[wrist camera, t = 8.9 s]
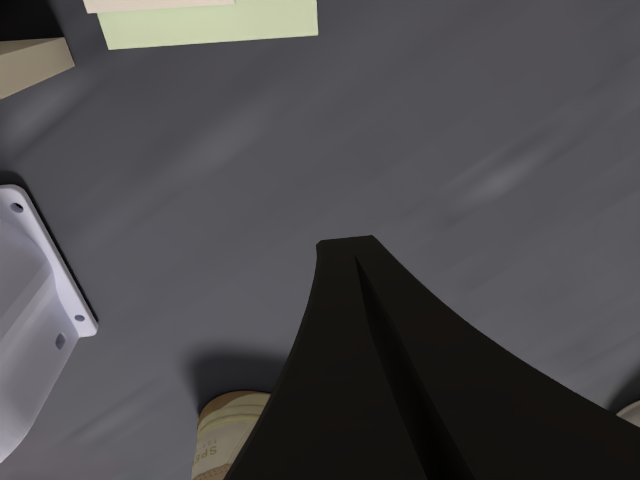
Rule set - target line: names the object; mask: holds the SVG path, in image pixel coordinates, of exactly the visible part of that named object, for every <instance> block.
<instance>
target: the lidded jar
mask: <svg viewBox="0 0 640 480" xmlns="http://www.w3.org/2000/svg"><path fill="white" fill-rule="evenodd" d="M616 415H617V416H619V417H621V418H623V419H625V420H627V421H629V422H630V423H632V424H634V425H636V426H638V427H640V400H639V401H636V402H634V403H632V404H630V405H628V406H626V407H625V408H623V409H622V410H620V411H619V412H618V413H617V414H616Z"/></svg>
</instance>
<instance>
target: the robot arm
mask: <svg viewBox="0 0 640 480" xmlns="http://www.w3.org/2000/svg"><path fill="white" fill-rule="evenodd" d="M15 203H18V204H20V205H21V206H22V207H23V209H22V208H19V207H17V206H16V204H15ZM316 251H317V262H316V269H315V275H314V280H313V284H312V288H311V292H310V296H309V300H308V304H307V307H306V310H305V313H304V316H303V319H302V322H301V325H300V328H299V331H298V334H297V336H296V339H295V342H294V344H293V347H292V349H291V352H290V354H289V356H288V359H287V361H286V363H285V365H284V368H283V370H282V372H281V375H280V377H279V379H278V381H277V383H276V385H275V387H274V389H273V391H272V393H271V395H270V397H269V399H268V401H267V403H266V405H265V407H264V409H263V411H262V413H261V415H260V417H259V418H258V420H257V422H256V424H255V426H254V428H253V429H252V431H251V433H250V435H249V436H248V438H247V440H246V441H245V443H244V445H243V447H242V448H241V450H240V452H239V453H238V455H237V457H236V458H235V460H234V462H233V463H232V465H231V467H230V469H229V470H228V472H227V474H226V475H225V477H224V479H223V480H640V427H638V426H636V425H634V424H632V423H630V422H629V421H627V420H625V419H623V418H621V417H619V416H617V415H615V414H613V413H611V412H609V411H608V410H606V409H604V408H602V407H600V406H598V405H597V404H595V403H593V402H591V401H589V400H588V399H586V398H584V397H582V396H581V395H579V394H577V393H575V392H573V391H572V390H570V389H568V388H567V387H565V386H563V385H562V384H560V383H558V382H557V381H555V380H553V379H552V378H550V377H548V376H547V375H545V374H543V373H542V372H540V371H538V370H537V369H535V368H533V367H532V366H530V365H529V364H527V363H525V362H524V361H522V360H521V359H519V358H518V357H516V356H515V355H513V354H512V353H510V352H509V351H507V350H506V349H504V348H503V347H501V346H500V345H498V344H497V343H496V342H494V341H493V340H491V339H490V338H488V337H487V336H486V335H484V334H483V333H481V332H480V331H478V330H477V329H476V328H474V327H473V326H472V325H470V324H469V323H468V322H466V321H465V320H464V319H463V318H461V317H460V316H459V315H458V314H456V313H455V312H454V311H453V310H452V309H450V308H449V307H448V306H447V305H445V304H444V303H443V302H442V301H441V300H440V299H438V298H437V297H436V296H435V295H434V294H433V293H432V292H430V291H429V290H428V289H427V288H426V287H425V286H424V285H423V284H422V283H421V282H420V281H418V280H417V279H416V278H415V277H414V276H413V275H412V274H411V273H410V272H409V271H408V270H407V269H406V268H405V267H404V266H403V265H402V264H401V263H400V262H399V261H398V260H397V259H396V258H395V257H394V256H393V255H392V254H391V253H390V252H389V251H388V250H387V249H386V248H385V247H384V246H383V245H382V244H381V243H380V242H379V241H378V240H377V239H376V238H375V237H374V236H373V235H369V236H359V237H349V238H339V239H329V240H321V241H320V242H319V243H318V244H317V245H316ZM80 315H82V316H80ZM98 328H99V327H98V324H97V322H96V320H95V319H94V317H93V315H92V313H91V311H90V309H89V307H88V306H87V304H86V302H85V300H84V298H83V296H82V294H81V293H80V291H79V289H78V287H77V285H76V283H75V282H74V280H73V278H72V276H71V274H70V272H69V270H68V269H67V267H66V265H65V263H64V261H63V259H62V257H61V256H60V254H59V252H58V250H57V248H56V246H55V244H54V243H53V241H52V239H51V237H50V235H49V233H48V232H47V230H46V228H45V226H44V224H43V222H42V220H41V219H40V217H39V215H38V213H37V211H36V209H35V207H34V206H33V204H32V202H31V200H30V198H29V196H28V194H27V193H26V192H25V190H24V189H22V188H21V187H19V186H17V185H11V184H9V185H0V463H1V462H2V461H3V460H4V459H5V458H6V457H7V456H8V455H9V454H10V453H11V452H12V451H13V450H14V449H15V448H16V447H17V446H18V445H19V444H20V442H21V441H22V440H23V439H24V437H25V436H26V435H27V433H28V432H29V430H30V428H31V427H32V425H33V423H34V421H35V419H36V418H37V416H38V414H39V412H40V410H41V408H42V406H43V404H44V403H45V401H46V399H47V397H48V395H49V393H50V391H51V389H52V388H53V386H54V384H55V382H56V380H57V378H58V376H59V374H60V373H61V371H62V369H63V367H64V365H65V363H66V361H67V360H68V358H69V356H70V354H71V352H72V350H73V348H74V346H75V345H76V343H77V341H78V339H79V337H86V336H92V335H94V334H96V332H97V330H98Z"/></svg>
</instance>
